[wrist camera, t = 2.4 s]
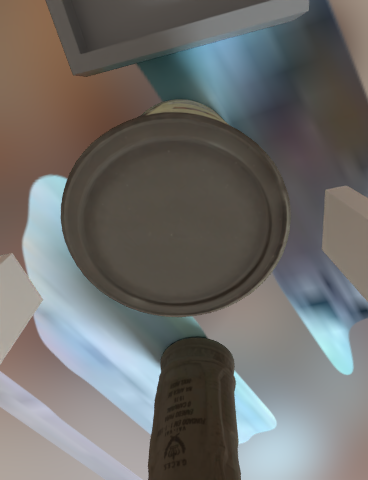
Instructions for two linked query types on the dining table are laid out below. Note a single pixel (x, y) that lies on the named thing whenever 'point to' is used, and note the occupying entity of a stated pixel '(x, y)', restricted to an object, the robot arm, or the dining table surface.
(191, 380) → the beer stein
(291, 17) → the holder tray
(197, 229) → the coffee can
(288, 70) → the dining table surface
